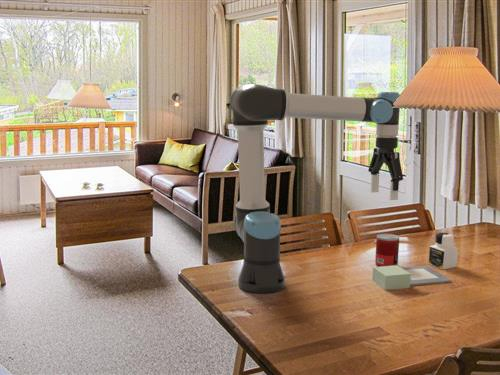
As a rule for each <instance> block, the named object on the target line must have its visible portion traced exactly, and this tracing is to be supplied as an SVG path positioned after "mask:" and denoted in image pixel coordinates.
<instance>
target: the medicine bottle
mask: <svg viewBox="0 0 500 375" xmlns="http://www.w3.org/2000/svg"><path fill="white" fill-rule="evenodd" d="M453 245H454V235H453V234H451V233H448V232H439V233H436V234H435V244H433V245H429V254H428V255H429V256H428V265H429V266H432V267H435V268H437V269H441V270H447V269H454V268H456V267H457V266H458V256H459V254H458V253H459V248H458V247H455V246H453Z"/></svg>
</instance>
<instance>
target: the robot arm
mask: <svg viewBox="0 0 500 375" xmlns="http://www.w3.org/2000/svg"><path fill="white" fill-rule="evenodd" d="M399 96H400V97H401V95H400V93H399V92H398V91H380V92H378V95H377V97H355V96H354V97H351V96H338V95H337V96H336V95H335V96H334V95H323V94H321V95H320V94H308V93H307V94H306V93H296V92H295V93H294V92H293V93H292V92H291V93H290V92H287V90H286V89H284V88H283V89H282V88H281V89H280V88H273V87H269V86H265V85H262V84H256V83H248V82H247V83H243V84H240V85H238V86H237V87H236V88H235V89H234V90H233V91H232V93H231V95H230V97H229V106H230V109H231V112H232V126H233V127H234V128H235V129H236V131H237V146H238V149H237V150H238V152H237V153H238V174H239V175H238V176H239V177H238V178H239V179H238V180H239V201H237V203H236V204H235V216H234V220H233V221H234V222H233V225H234V229H235V232H236V234H237V235H238V237H240V239H241V240H242V242H243V264H242V267H241V270H240V272H239V276H238V280H237V281H238V282H237V283H238V287H239V288H240V289H241V290H242V291H246V292H248V293H256V294H271V293H275V292H280V291H281V290H283V289H284V288H285V284H286V283H285V282H286V280H285V277H284V276H285V275H284V273H283V270H282V266H281V261H280V260H281V259H280V258H281V230H282V226H281V225H282V224H281V219H280V217H279V216H278V215H276V214H275V213H271V210H270V209H271V205H270V203H269V202H268V201H267V200H266V191H265V190H266V189H265V187H266V185H265V178H266V177H265V144H264V143H265V142H264V130H265V128H266V127H267V126H268V125H269V122H268V121H284V120H285V119H286V118H292V119H293V118H294V119H309V120H325V121H326V120H328V121H329V120H330V121H346V122H362V123H363V122H364V123H375V124H376V126H375V127H376V128H375V129H376V130H375V131H376V132H375V135H376V138H375V147H374V148H373V153H372V157H371V159H370V160H371V161H370V163H369V166H368V172H369V173H370V175H371V181H370V183H371V184H370V193H372V194H373V193H379V190H380V189H379V188H380V185H379V184H380V171H381V169H382V167H383V165H384V164H385V165H386V167H387V169H388V172H389V174H390V175H389V176H390V187H389V190H390V191H389V200H390V201H398V200H399V189H400V188H399V187H400V182H401V181H403V180H404V176H403V169H402V166H401V160H400V159H401V158H400V152H399V151H398V152H397V151H395V149H397V148H398V144H399V138H398V137H397V136H399V129H400V128H399V123H400V109H401V107H400V108H392V107H393V106H394V105H393V103H394V102H395V101H396V99H397V98H398V97H399Z"/></svg>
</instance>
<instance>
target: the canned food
mask: <svg viewBox="0 0 500 375" xmlns="http://www.w3.org/2000/svg"><path fill="white" fill-rule="evenodd" d="M375 243H376V244H375V260H374V262H375V265H376V267H381V266H394V265H398V264H399V250H400V236H399V235H397V234H393V233H379V234H377V235H376V241H375ZM398 266H399V265H398Z"/></svg>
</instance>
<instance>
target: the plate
mask: <svg viewBox="0 0 500 375" xmlns="http://www.w3.org/2000/svg"><path fill="white" fill-rule="evenodd" d="M400 267H401V266H400ZM401 268H402V269H404V270H406V271H407V272H409V273H410V274H411V280H410V287H412V286H421V285H431V284H433V285H434V284H444V283H452V281H453V280H452V279H451V278H449V277H447V276H445V275H443V274H442V273H440V272H439V271H437V270H435V269H433V268H431V267H430V266H428V265H426V264H425V265H416V266H414V265H413V266H405V267H404V266H403V267H401Z"/></svg>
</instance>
